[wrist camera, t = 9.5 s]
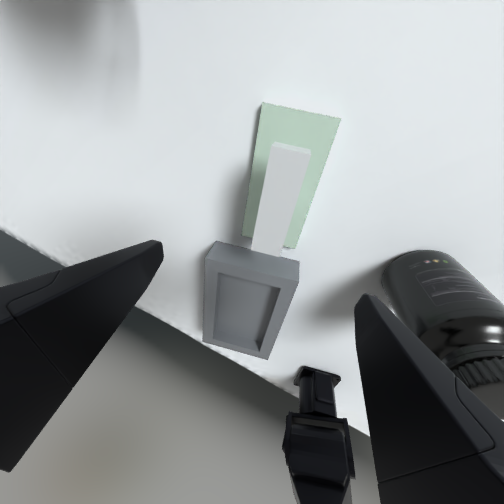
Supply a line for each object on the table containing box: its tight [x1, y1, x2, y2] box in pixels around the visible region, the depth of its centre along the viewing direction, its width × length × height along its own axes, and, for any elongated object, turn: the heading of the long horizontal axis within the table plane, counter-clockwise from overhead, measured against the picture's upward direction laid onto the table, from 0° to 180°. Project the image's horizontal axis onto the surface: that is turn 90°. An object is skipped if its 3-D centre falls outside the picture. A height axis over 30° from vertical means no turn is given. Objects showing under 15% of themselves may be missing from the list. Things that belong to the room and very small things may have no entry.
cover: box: [241, 102, 341, 257], centre depth 18 cm, size 12×6×6 cm, turn 170°
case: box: [202, 241, 299, 360], centre depth 28 cm, size 16×10×4 cm, turn 171°
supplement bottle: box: [382, 250, 504, 420], centre depth 17 cm, size 7×7×12 cm
